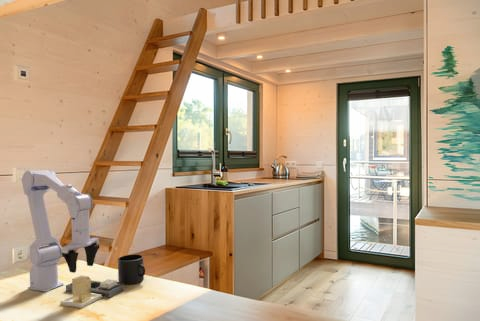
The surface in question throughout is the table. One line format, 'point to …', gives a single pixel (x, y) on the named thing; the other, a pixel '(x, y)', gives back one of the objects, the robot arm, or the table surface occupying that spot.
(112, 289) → the rail
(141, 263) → the mug
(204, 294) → the table surface
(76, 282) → the wooden block
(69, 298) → the parts tray
